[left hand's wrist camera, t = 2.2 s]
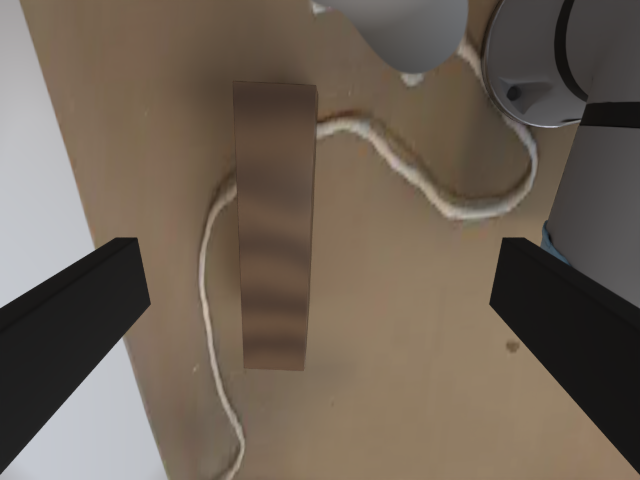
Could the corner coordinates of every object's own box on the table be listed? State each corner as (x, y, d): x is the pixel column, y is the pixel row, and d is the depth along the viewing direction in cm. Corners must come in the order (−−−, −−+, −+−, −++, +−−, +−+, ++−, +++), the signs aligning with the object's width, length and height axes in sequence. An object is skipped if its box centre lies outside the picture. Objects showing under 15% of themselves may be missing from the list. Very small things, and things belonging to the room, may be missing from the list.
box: (260, 90, 35) (232, 80, 24) (318, 93, 35) (316, 85, 24) (263, 304, 44) (243, 368, 33) (309, 306, 44) (304, 371, 33)
